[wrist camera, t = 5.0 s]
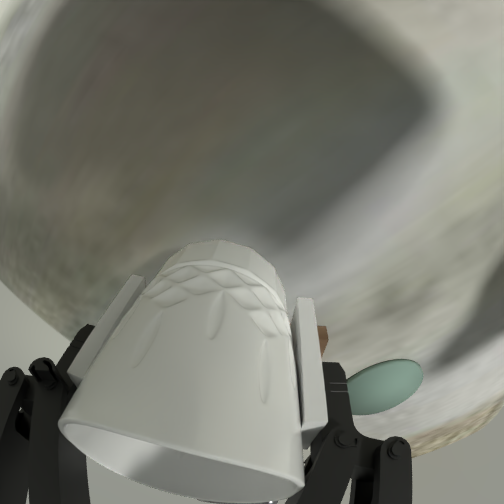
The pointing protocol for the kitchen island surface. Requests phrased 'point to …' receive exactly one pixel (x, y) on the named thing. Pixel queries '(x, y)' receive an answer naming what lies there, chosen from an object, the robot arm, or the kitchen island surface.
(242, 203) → the kitchen island surface
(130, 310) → the white cup
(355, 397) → the end coaster
